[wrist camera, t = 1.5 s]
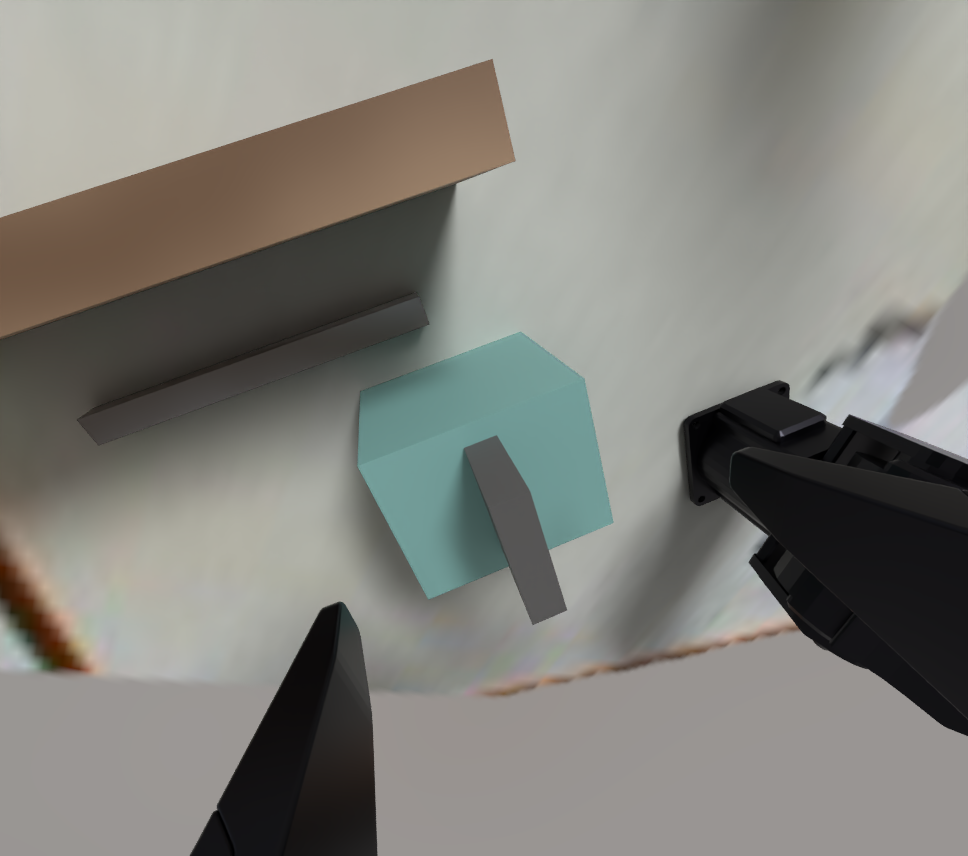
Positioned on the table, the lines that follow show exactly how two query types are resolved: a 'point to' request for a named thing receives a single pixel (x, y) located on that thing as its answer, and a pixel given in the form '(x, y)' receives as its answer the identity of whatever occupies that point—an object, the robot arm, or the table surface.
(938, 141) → the table surface
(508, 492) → the teal handled box
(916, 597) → the robot arm
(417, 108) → the brown wooden beam
